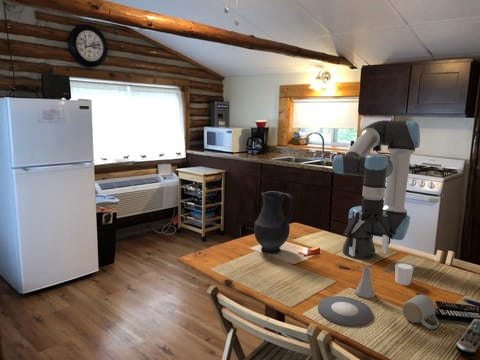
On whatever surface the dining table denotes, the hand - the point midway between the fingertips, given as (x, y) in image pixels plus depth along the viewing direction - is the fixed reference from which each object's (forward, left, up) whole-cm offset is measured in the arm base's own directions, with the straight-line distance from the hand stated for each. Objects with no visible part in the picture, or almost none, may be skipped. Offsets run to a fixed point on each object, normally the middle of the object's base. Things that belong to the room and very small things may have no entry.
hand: (368, 253), depth 139 cm
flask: (0, 0, -16) cm, 16 cm away
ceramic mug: (-8, +20, -16) cm, 27 cm away
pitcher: (+20, -48, -16) cm, 55 cm away
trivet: (+14, +10, -16) cm, 23 cm away
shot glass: (-21, -6, -16) cm, 27 cm away
